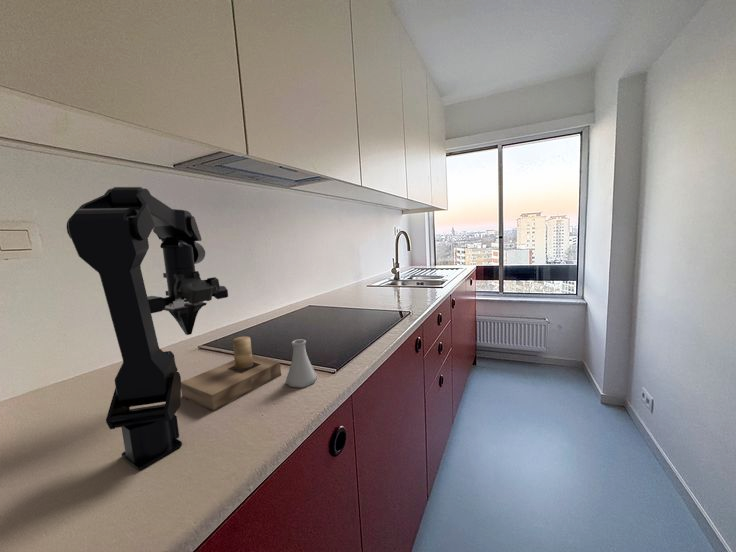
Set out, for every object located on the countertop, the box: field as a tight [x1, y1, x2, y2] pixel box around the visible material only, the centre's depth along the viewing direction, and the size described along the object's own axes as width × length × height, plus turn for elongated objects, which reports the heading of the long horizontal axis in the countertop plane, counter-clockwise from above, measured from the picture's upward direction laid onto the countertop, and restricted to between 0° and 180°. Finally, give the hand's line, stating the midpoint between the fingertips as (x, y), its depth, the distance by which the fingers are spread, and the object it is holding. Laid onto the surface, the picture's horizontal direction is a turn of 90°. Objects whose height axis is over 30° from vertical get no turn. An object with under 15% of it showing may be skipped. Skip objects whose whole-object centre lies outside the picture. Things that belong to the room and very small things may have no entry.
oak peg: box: [232, 336, 253, 374], centre depth 74 cm, size 4×4×10 cm
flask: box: [285, 338, 318, 388], centre depth 73 cm, size 7×7×10 cm
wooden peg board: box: [181, 354, 282, 412], centre depth 72 cm, size 18×12×4 cm, turn 149°
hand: (188, 334), depth 71 cm, fingers closed
